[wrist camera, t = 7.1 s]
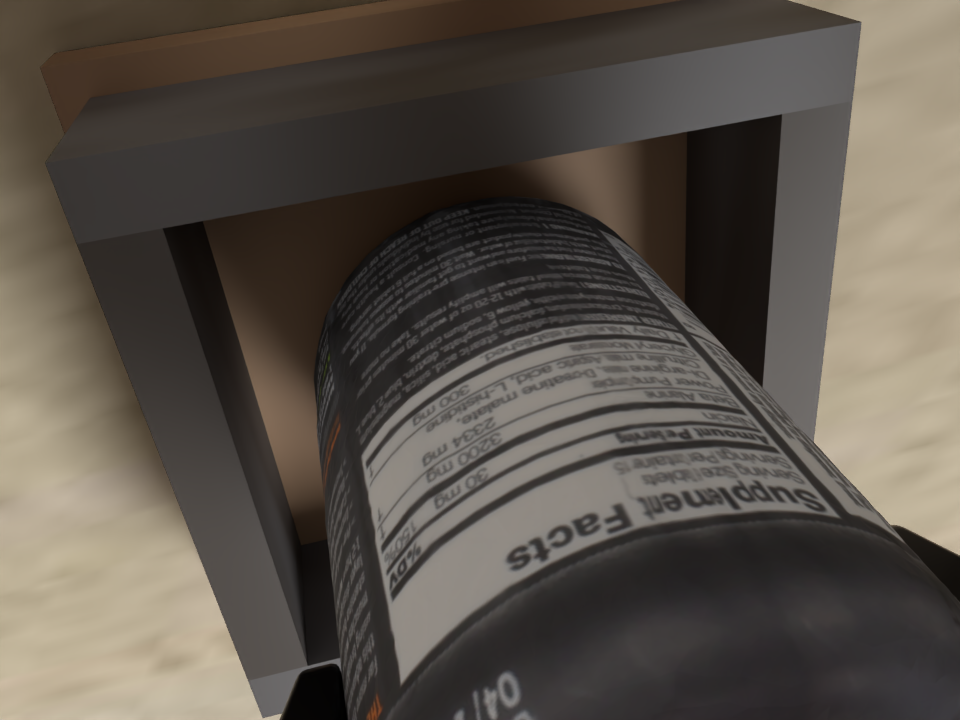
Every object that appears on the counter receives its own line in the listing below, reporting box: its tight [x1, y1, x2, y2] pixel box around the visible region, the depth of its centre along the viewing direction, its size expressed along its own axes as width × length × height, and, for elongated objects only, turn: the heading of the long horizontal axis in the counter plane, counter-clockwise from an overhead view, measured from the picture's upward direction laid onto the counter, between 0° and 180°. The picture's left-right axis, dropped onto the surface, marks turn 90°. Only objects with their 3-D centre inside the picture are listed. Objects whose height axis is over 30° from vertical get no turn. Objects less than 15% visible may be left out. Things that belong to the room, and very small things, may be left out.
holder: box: [40, 0, 861, 718], centre depth 15 cm, size 11×11×4 cm
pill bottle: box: [314, 196, 960, 720], centre depth 10 cm, size 6×6×11 cm
